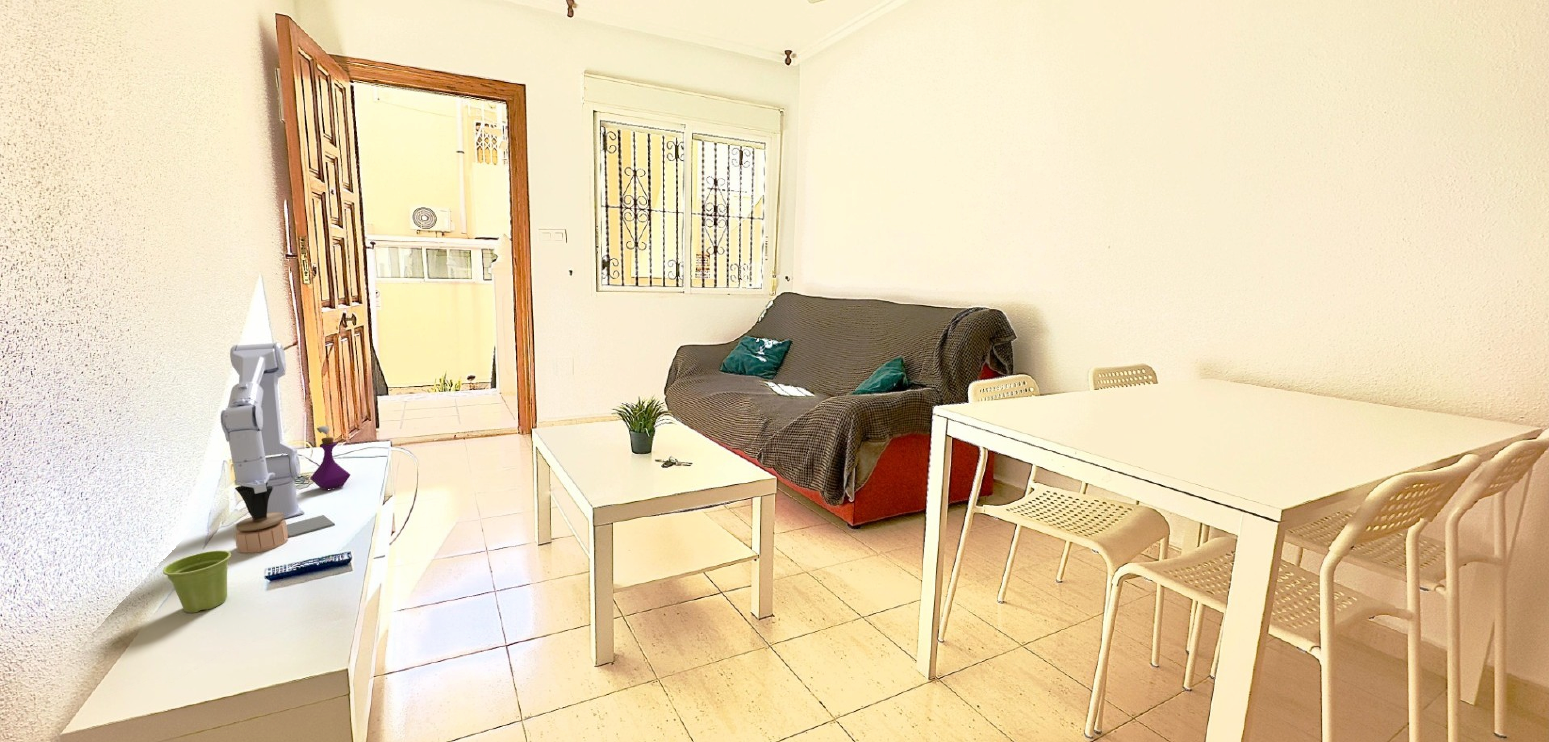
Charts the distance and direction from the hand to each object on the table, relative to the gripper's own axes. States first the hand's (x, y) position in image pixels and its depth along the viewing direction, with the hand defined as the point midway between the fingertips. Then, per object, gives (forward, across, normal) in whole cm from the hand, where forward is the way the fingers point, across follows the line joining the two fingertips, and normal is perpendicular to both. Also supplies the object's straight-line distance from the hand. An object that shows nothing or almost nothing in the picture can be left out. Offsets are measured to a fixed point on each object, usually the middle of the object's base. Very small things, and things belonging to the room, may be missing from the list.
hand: (258, 516), depth 144 cm
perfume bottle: (+7, +34, -22) cm, 41 cm away
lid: (+2, 0, 0) cm, 2 cm away
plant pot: (+7, -25, +14) cm, 29 cm away
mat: (+7, +4, -10) cm, 13 cm away
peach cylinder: (+7, 0, 0) cm, 7 cm away
